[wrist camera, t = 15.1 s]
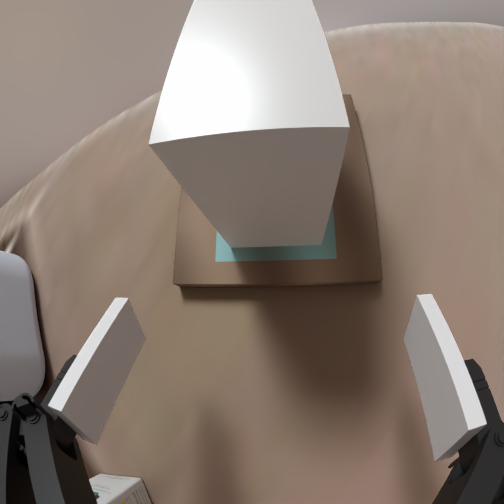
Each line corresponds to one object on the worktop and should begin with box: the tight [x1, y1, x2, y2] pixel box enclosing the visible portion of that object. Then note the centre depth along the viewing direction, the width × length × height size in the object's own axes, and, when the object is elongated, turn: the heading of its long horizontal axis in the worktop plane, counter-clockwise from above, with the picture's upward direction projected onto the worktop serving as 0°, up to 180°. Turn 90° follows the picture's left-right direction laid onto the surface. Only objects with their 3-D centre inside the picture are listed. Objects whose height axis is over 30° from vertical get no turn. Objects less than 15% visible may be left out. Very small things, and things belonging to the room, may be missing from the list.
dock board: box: [173, 94, 382, 287], centre depth 21 cm, size 14×16×1 cm
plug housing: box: [149, 0, 350, 248], centre depth 15 cm, size 6×11×12 cm, turn 0°
